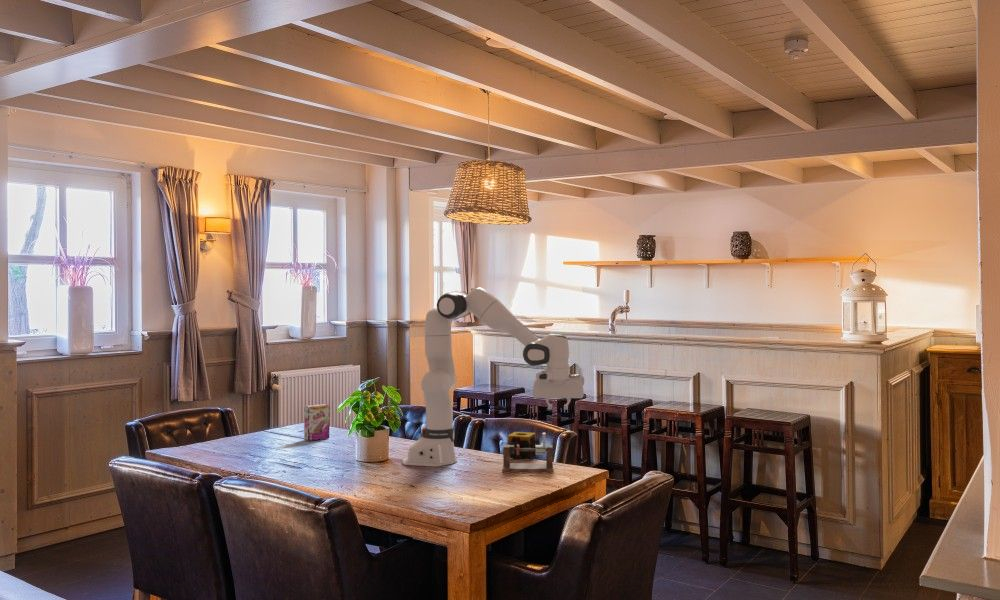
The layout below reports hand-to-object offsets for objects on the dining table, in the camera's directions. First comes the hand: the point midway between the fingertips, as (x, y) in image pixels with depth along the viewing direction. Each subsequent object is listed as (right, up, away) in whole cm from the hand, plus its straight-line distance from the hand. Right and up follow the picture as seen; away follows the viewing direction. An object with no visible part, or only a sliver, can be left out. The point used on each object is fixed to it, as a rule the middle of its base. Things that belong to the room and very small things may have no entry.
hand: (558, 409), depth 316 cm
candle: (-14, -24, +24) cm, 37 cm away
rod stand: (-12, -24, +1) cm, 27 cm away
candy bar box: (-111, -24, +65) cm, 131 cm away
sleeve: (-7, -18, +1) cm, 19 cm away
